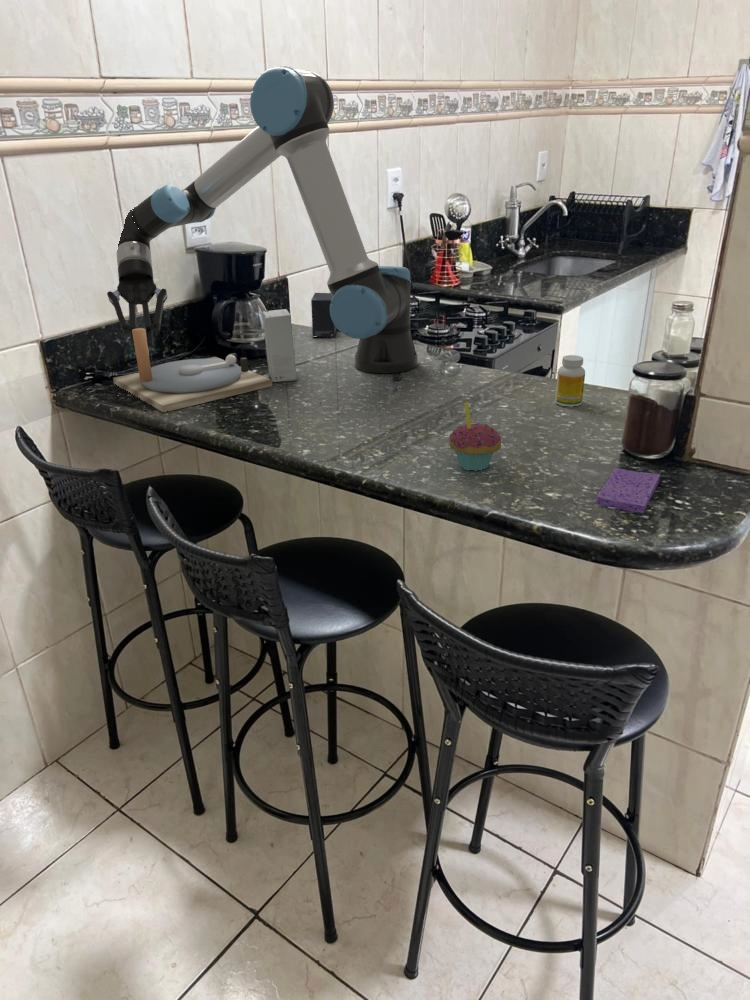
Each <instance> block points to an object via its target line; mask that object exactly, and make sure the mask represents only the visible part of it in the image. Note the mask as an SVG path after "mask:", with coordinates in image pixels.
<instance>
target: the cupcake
mask: <svg viewBox="0 0 750 1000" xmlns="http://www.w3.org/2000/svg"><path fill="white" fill-rule="evenodd" d="M464 401H465V402H464V411H465V420H466V424H462V425H460V426H458V427H457V426H456V429H453V431H452V432H451V433H450V434H449V438H448V439H449V440H448V444H449V447H450V449H451V450H454V452H455V455H456V457H457V461H458V466H459V467H460V466H461V467H463V468H465V469H469V470H481V469H484V470H486V469H487V468H488V467H489V464H490V461H491V460H492V457H493V455H494V453H495V452H497V451H498V450H501V447H502V440H501V437H502V436H501V435H500V434H499V432H498V431H496V429H495V428H493V427H491V426H490V425H489V424H483V423H479V422H477V423H471V414H470V413H471V412H470V404H469V402H468V401H467V398H464ZM461 467H460V468H461ZM485 468H486V469H485ZM465 469H464V470H465ZM481 471H482V470H481Z"/></svg>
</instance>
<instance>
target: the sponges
mask: <svg viewBox="0 0 750 1000" xmlns="http://www.w3.org/2000/svg"><path fill="white" fill-rule="evenodd" d="M660 478H661V474H660V473H659V474H658V473H652V472H651V473H650V472H643V471H636V470H635V471H634V470H628V469H627V470H626V469H623V468H617V467H615V468H614V469H613V471H612V473H611V475H610V477H609V478H608V479H607V481H606V483H605V484H604V485H603V486H602V488H601V490H600V491H599V492H598V494H597V496H596V500H595V505H598V506H603V507H608V508H613V509H618V510H623V511H629V512H634V513H639V514H644V513H645V511H646V508H647V507H648V504H649V503H650V501H651V499H652V497H653V495H654V492H655V491H656V488H658V487H657V486H659V482H660Z"/></svg>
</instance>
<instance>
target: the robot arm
mask: <svg viewBox="0 0 750 1000" xmlns="http://www.w3.org/2000/svg"><path fill="white" fill-rule="evenodd" d="M334 100H335V99H334V94H333V91H332V89H331V87H330V85H329V83H328V82H327V81H326V80H325V79H324V77H322V76H321V75H320V74H318V73H316V72H314V71H310V70H304V69H303V70H302V69H295V68H292V67H291V66H287V65H286V66H278V67H272V68H268V69H266V70H265V71H263V72H262V73H261V74H260V75H259V76H257V78H256V80H255V82H254V84H253V86H252V89H251V93H250V100H249V101H250V102H249V104H250V105H249V106H250V110H251V111H250V112H251V115H252V119H253V120H254V122H255V124H256V125H257V127H256V126H255V128H254V129H253V130H251V131H250V132H249V133H248V134H247V135H246V136H245V137H243V138H242V139H241V140H240V141H239V142H238V143H237V144H235V145H234V146H233V147H232V148H231V149H229V150H228V151H227V152H226V153H225V154H224V155H223V156H221V157H220V158H219V159H218V160H217V161H215V162H214V163H213V164H212V165H211V166H210V167H208V168H207V169H206V170H205V171H204V172H203V173H201V174H200V175H199V176H198V177H196V178H195V179H194V181H192V182H191V183H190V184H189V185H188V186H186V187H185V188H184V189H181V188H180V187H178V186H175V185H174V184H171V183H169V184H168V183H167V184H166V185H165V184H164V185H163V186H162V187H160V188H158V189H156V190H155V191H154V192H153V193H152V194H151V195H149V196H148V197H147V198H145V199H144V200H143V201H141V202H140V203H139V204H138V206H136V207H134V209H132V210H133V211H132V210H130V212H129V213H128V215H127V217H126V219H125V224H124V229H123V231H122V233H121V237H120V241H119V244H118V250H117V252H116V262H117V264H116V265H117V277H118V284H117V287H116V290H114V291H111V290H110V291H108V292H107V293H106V294H107V299H108V301H109V303H111V305H112V306H113V307H114V311H115V314H116V317H117V319H118V321H119V324H120V327H121V331H122V334H125V335H127V334H129V335H130V340H131V341H130V342H131V345H132V347H133V348H135V346H134V340H133V333H132V329H136V328H137V305H142V308H141V309H142V313H143V320H144V327H145V328H144V329H145V334H146V340H147V347H148V348H149V347H153V345H154V340H153V334H154V333H155V332H157V333H158V332H160V331H161V325H162V319H163V318H162V317H163V313H164V305H165V303H166V301H167V299H168V292H167V288H162V289H160V288H159V287H157V284H156V283H155V281H154V273H153V262H152V252H151V241H152V240H153V239H155V238H156V237H158V236H159V235H161V234H162V233H164V232H165V231H167V230H169V229H170V228H175V227H179V226H184V225H189V224H194V223H195V224H197V223H202V222H204V221H206V220H209V219H210V218H211V219H212V217H213V216H214V215H215V212H216V209H217V207H219V206H220V205H222V204H223V203H224V202H226V201H227V200H228V199H229V198H230V197H231V196H233V195H234V194H235V193H236V192H237V191H238V190H240V189H241V188H242V187H244V186H245V185H246V184H247V183H249V182H250V181H251V180H253V178H255V177H256V176H257V175H259V174H260V173H261V172H263V170H265V169H266V168H267V167H268V166H270V165H271V164H273V163H274V162H275V161H276V160H277V159H278V158H280V157H281V156H282V157H284V158H285V159H286V160H287V162H288V165H289V168H290V170H291V173H292V176H293V178H294V181H295V183H296V184H295V185H296V186H297V189H298V192H299V194H300V196H301V199H302V201H303V205H304V207H305V210H306V213H307V215H308V218H309V221H310V223H311V226H312V228H313V231H314V234H315V236H316V239H317V241H318V243H319V246H320V249H321V252H322V255H323V257H324V260H325V262H326V265H327V267H328V269H329V277H328V279H327V282H326V285H327V287H328V290H329V293H331V296H332V300H331V304H330V315H331V319H332V321H333V323H334V325H335V326H336V327H337V330H338V331H339V332H341V334H343V335H345V336H347V337H348V338H349V337H350V338H352V339H354V340H355V339H356V340H357V339H358V345H357V348H356V352H355V355H354V366H355V368H356V369H358V370H360V371H363V372H367V373H374V374H394V373H395V374H396V373H403V372H407V371H411V370H413V369H415V368H416V367H417V366H418V353H417V351H416V347H415V343H414V341H413V340H414V339H413V337H412V334H411V285H412V280H411V272H410V269H409V268H407V267H404V266H391V265H390V266H388V265H387V266H386V265H379V264H378V262H376V261H373V260H372V259H370V258H369V257H368V254H367V252H366V249H365V246H364V244H363V240H362V239H361V235H360V233H359V230H358V227H357V224H356V222H355V218H354V216H353V213H352V211H351V208H350V205H349V203H348V199H347V196H346V194H345V191H344V189H343V186H342V182H341V180H340V177H339V175H338V172H337V169H336V167H335V164H334V161H333V158H332V155H331V153H330V149H329V147H328V145H327V144H328V143H327V139H328V136H329V133H330V128H329V125H328V124H329V122H330V121H331V118H332V116H333V113H334V107H335V106H334V105H335V101H334ZM132 216H133V217H132ZM134 222H135V223H134ZM138 228H139V229H138ZM154 296H155V297H156V303H155V310H154V317H153V322H152V321H151V315H150V308H149V307H150V306H149V303H150V301H151V300H152V299H153V297H154ZM120 297H122V298H123V300H124V301H125V302H126V303H128V314H129V315H128V317H129V319H128V320H129V325H128V324H127V322H126V318H125V317H124V313H123V310H122V307H121V304H120V300H121V298H120ZM151 322H152V323H151ZM149 352H150V350H149V349H148V353H149ZM149 354H150V353H149Z"/></svg>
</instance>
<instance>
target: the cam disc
mask: <svg viewBox="0 0 750 1000" xmlns="http://www.w3.org/2000/svg"><path fill="white" fill-rule="evenodd" d="M145 329H146V328H143V327H138V328H136V329H132V333H133V340H134V346H135V347H134V351H135V357H136V362H137V369H138V373H139V376H140V381H141V385H142V386H143V387H145V388H147V389H150V390H153V391H159V392H169V393H185V392H197V391H204V390H210V389H215V388H219V387H222V386H225V385H228V384H230V383H233V382H234V381H236V380H237V379H239V377H240V376H241V372H240V367H241V366H239V364H238V365H237V364H235V363H236V357H235V356H234V355H230V354H228V355H226V357H225V360H224V359H222V360H218V359H206V358H191V359H190V358H189V359H182V360H174V361H169V362H164V363H161V364H157V365H154V366H152V365H151V360H150V353H148V350H149V346H148V347H147V340H146V334H145ZM151 366H152V367H151Z"/></svg>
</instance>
